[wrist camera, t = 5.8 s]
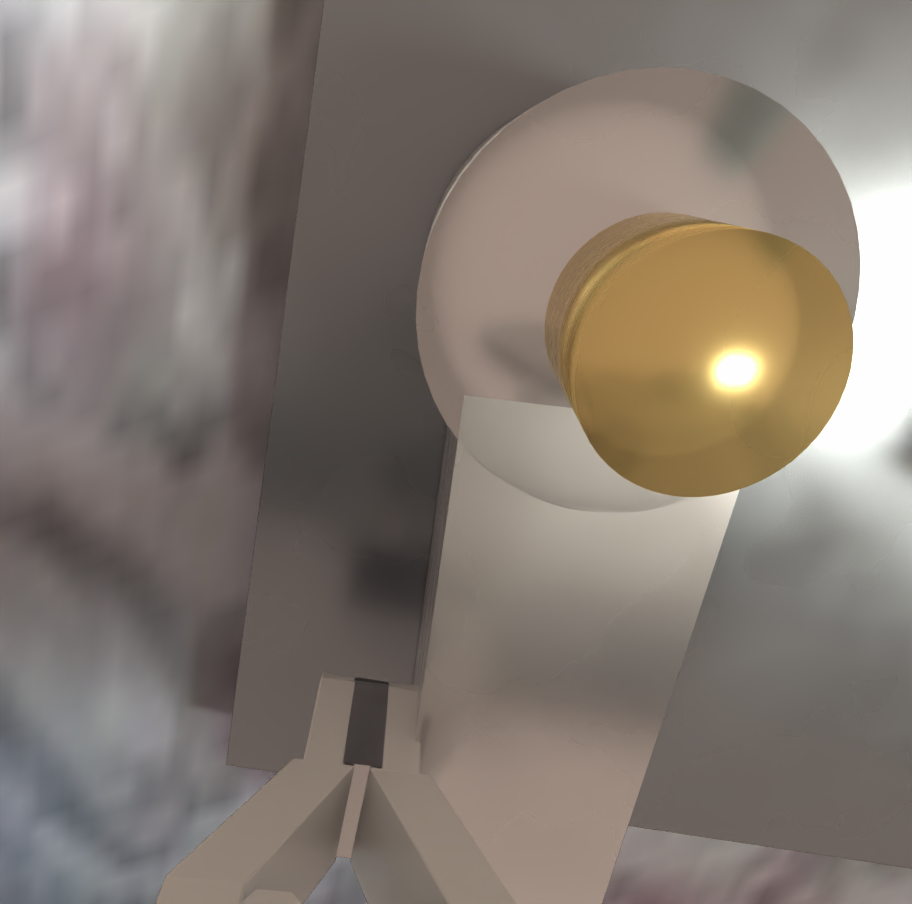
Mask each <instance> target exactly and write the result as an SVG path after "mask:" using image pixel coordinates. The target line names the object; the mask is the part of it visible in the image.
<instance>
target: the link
mask: <svg viewBox="0 0 912 904" xmlns="http://www.w3.org/2000/svg"><path fill="white" fill-rule="evenodd" d="M657 212H668V213H679V214H685V215H690V216H695V217H699V218H704V219H708V220H713V221H717V222H722V223H726V224H731V225H735V226H740V227H744V228H749V229H753V230H758V231H762V232H767V233H770V234H773V235H776V236H779V237H782V238H785V239H788V240H790V241H791V242H793V243H795V244H797V245H799V246H801V247H803V248H804V249H806V250H807V251H808V252H810V253H811V254H812V255H814V256H815V257H816V258H817V259H818V260H819V261H820V262H821V263H822V264H823V265H824V266H825V267H826V268H827V269H828V270H829V271H830V273H831V274H832V275H833V277H834V278H835V280H836V281H837V283H838V284H839V286H840V288H841V290H842V292H843V294H844V296H845V299H846V301H847V304H848V308H849V311H850V314H851V319H852V325H853V322H854V318H855V313H856V307H857V301H858V295H859V289H860V264H861V258H860V248H859V237H858V229H857V225H856V221H855V216H854V212H853V208H852V204H851V201H850V198H849V196H848V193H847V191H846V188H845V186H844V183H843V181H842V178H841V176H840V174H839V172H838V170H837V169H836V167H835V165H834V164H833V162H832V160H831V159H830V157H829V155H828V153H827V152H826V150H825V148H824V147H823V146H822V145H821V144H820V142H819V141H818V140H817V139H816V138H815V136H814V135H813V134H812V133H811V132H810V130H809V129H808V128H807V127H806V126H805V125H804V124H803V123H802V122H801V121H800V120H798V119H797V118H796V117H795V116H794V115H793V114H792V113H790V112H789V111H788V110H787V109H786V108H785V107H783V106H782V105H781V104H779V103H778V102H776V101H774V100H773V99H771V98H769V97H768V96H766V95H764V94H763V93H761V92H760V91H758V90H756V89H754V88H752V87H749V86H747V85H745V84H742V83H740V82H737V81H735V80H732V79H730V78H727V77H724V76H720V75H715V74H711V73H707V72H702V71H698V70H691V69H678V68H664V67H661V68H648V69H635V70H627V71H622V72H618V73H613V74H609V75H605V76H600V77H596V78H593V79H591V80H588V81H585V82H583V83H580V84H578V85H575V86H572V87H570V88H567V89H564V90H563V91H561V92H559V93H557V94H555V95H553V96H552V97H550V98H548V99H546V100H544V101H542V102H541V103H539V104H537V105H535V106H533V107H532V108H530V109H529V110H527V111H525V112H524V113H522V114H521V115H519V116H518V117H516V118H514V119H513V120H511V121H510V122H508V123H507V124H505V125H504V126H503V127H501V128H500V129H498V130H497V131H496V132H494V133H493V134H492V135H490V136H489V137H488V138H487V139H486V140H485V141H484V142H483V143H482V144H481V145H480V146H478V147H477V148H476V149H475V150H474V151H473V152H472V153H471V154H470V156H469V157H468V158H467V159H466V161H465V162H464V163H463V164H462V166H461V167H460V168H459V169H458V171H457V172H456V174H455V175H454V177H453V179H452V180H451V182H450V184H449V185H448V187H447V188H446V190H445V192H444V194H443V196H442V199H441V201H440V203H439V205H438V208H437V210H436V212H435V215H434V219H433V222H432V225H431V228H430V232H429V235H428V240H427V244H426V248H425V252H424V256H423V260H422V265H421V271H420V277H419V283H418V289H417V305H416V328H417V339H418V349H419V354H420V358H421V362H422V367H423V371H424V375H425V378H426V381H427V384H428V386H429V389H430V392H431V394H432V397H433V399H434V402H435V404H436V405H437V407H438V409H439V411H440V413H441V415H442V417H443V418H444V420H445V422H446V424H447V430H446V437H445V445H444V452H443V460H442V467H441V475H440V483H439V490H438V498H437V505H436V513H435V520H434V528H433V536H432V543H431V551H430V558H429V566H428V573H427V581H426V588H425V596H424V604H423V611H422V619H421V626H420V634H419V641H418V649H417V656H416V664H415V672H414V679H413V685H418V705H417V724H416V741H417V742H420V744H421V761H420V774H426V775H430V776H431V777H432V779H433V780H434V782H435V783H436V785H437V786H438V788H439V789H440V791H441V792H442V794H443V795H444V797H445V798H446V800H447V801H448V803H449V804H450V806H451V807H452V809H453V810H454V812H455V813H456V815H457V816H458V818H459V819H460V820H461V822H462V823H463V825H464V826H465V828H466V829H467V831H468V832H469V834H470V835H471V837H472V838H473V840H474V841H475V843H476V844H477V846H478V847H479V849H480V850H481V852H482V853H483V855H484V856H485V858H486V859H487V861H488V862H489V864H490V865H491V867H492V868H493V870H494V871H495V873H496V874H497V876H498V877H499V879H500V880H501V882H502V883H503V885H504V886H505V888H506V889H507V891H508V892H509V894H510V895H511V897H512V898H513V900H514V901H515V903H516V904H602V902H603V899H604V896H605V893H606V890H607V887H608V884H609V881H610V878H611V875H612V872H613V869H614V866H615V863H616V860H617V857H618V854H619V851H620V848H621V845H622V842H623V839H624V836H625V833H626V830H627V827H628V824H629V821H630V818H631V815H632V812H633V809H634V806H635V803H636V800H637V797H638V794H639V791H640V788H641V785H642V782H643V779H644V776H645V773H646V770H647V767H648V763H649V760H650V757H651V754H652V751H653V748H654V745H655V742H656V739H657V736H658V733H659V730H660V727H661V724H662V721H663V718H664V715H665V712H666V709H667V706H668V703H669V700H670V697H671V694H672V691H673V688H674V685H675V682H676V679H677V676H678V673H679V670H680V667H681V664H682V661H683V658H684V655H685V652H686V649H687V646H688V643H689V640H690V637H691V634H692V631H693V628H694V625H695V622H696V619H697V616H698V613H699V610H700V607H701V604H702V601H703V598H704V595H705V592H706V589H707V586H708V583H709V580H710V577H711V574H712V571H713V568H714V565H715V562H716V559H717V556H718V553H719V550H720V547H721V544H722V541H723V538H724V535H725V532H726V529H727V526H728V523H729V520H730V517H731V514H732V511H733V508H734V505H735V502H736V499H737V496H738V493H739V490H740V489H739V490H736V491H733V492H729V493H725V494H720V495H715V496H705V497H678V496H671V495H664V494H661V493H657V492H653V491H650V490H647V489H645V488H643V487H640V486H638V485H635V484H634V483H632V482H630V481H628V480H627V479H625V478H623V477H622V476H620V475H619V474H618V473H617V472H615V471H614V470H613V469H612V468H610V467H609V466H608V465H607V464H606V463H605V462H604V460H603V459H602V458H601V457H600V456H599V455H598V454H597V452H596V451H595V449H594V448H593V446H592V445H591V444H590V442H589V440H588V438H587V436H586V434H585V432H584V430H583V428H582V426H581V424H580V422H579V420H578V418H577V417H576V415H575V413H574V411H573V409H572V407H571V405H570V403H569V401H568V399H567V397H566V395H565V393H564V391H563V389H562V387H561V385H560V383H559V381H558V379H557V377H556V375H555V373H554V371H553V369H552V367H551V364H550V361H549V358H548V355H547V349H546V344H545V317H546V311H547V306H548V302H549V299H550V296H551V293H552V290H553V287H554V285H555V283H556V281H557V279H558V277H559V275H560V273H561V272H562V270H563V269H564V267H565V266H566V264H567V263H568V261H569V260H570V259H571V258H572V257H573V255H574V254H575V253H576V252H577V251H578V250H579V249H580V248H581V247H582V246H583V245H584V244H585V243H586V242H587V241H588V240H590V239H591V238H592V237H594V236H595V235H596V234H598V233H599V232H601V231H602V230H604V229H606V228H608V227H609V226H611V225H613V224H615V223H617V222H620V221H622V220H625V219H627V218H630V217H634V216H638V215H642V214H648V213H657Z"/></svg>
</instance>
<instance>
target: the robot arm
mask: <svg viewBox="0 0 912 904" xmlns="http://www.w3.org/2000/svg"><path fill="white" fill-rule="evenodd" d="M417 705H418V685H411V684H403V683H395V682H384V681H378V680H372V679H366V678H360V677H356V678H354V677H348V676H342V675H336V674H330V673H325V672H323V674H322V677H321V679H320V684H319V688H318V693H317V698H316V703H315V707H314V712H313V717H312V722H311V726H310V731H309V736H308V740H307V745H306V750H305V755H304V759H292V760H291V761H290V762H289V763H288V764H287V765H286V766H285V767H284V768H283V769H281V770H280V771H279V772H278V773H277V774H276V775H275V776H274V777H273V778H272V779H271V780H269V781H268V782H267V783H266V784H265V785H264V786H263V787H262V788H261V789H260V790H259V791H258V792H256V793H255V794H254V795H253V796H252V797H251V798H250V799H249V800H248V801H247V802H246V803H244V804H243V805H242V806H241V807H240V808H239V809H238V810H237V811H236V812H235V813H234V814H233V815H231V816H230V817H229V818H228V819H227V820H226V821H225V822H224V823H223V824H222V825H221V826H219V827H218V828H217V829H216V830H215V831H214V832H213V833H212V834H211V835H210V836H209V837H208V838H206V839H205V840H204V841H203V842H202V843H201V844H200V845H199V846H198V847H197V848H196V849H194V850H193V851H192V852H191V853H190V854H189V855H188V856H187V857H186V858H185V859H184V860H183V861H181V862H180V863H179V864H178V865H177V866H176V867H175V868H174V869H173V870H172V871H171V872H169V873H168V874H167V875H166V876H165V879H164V882H163V884H162V887H161V890H160V892H159V895H158V898H157V900H156V903H155V904H303V903H304V902H305V901H306V899H307V898H308V897H309V895H310V894H311V893H312V891H313V890H314V889H315V887H316V886H317V885H318V883H319V882H320V881H321V879H322V878H323V877H324V875H325V874H326V872H327V871H328V870H329V868H330V867H331V866H332V864H333V863H334V862H335V860H336V857H346V858H351V860H350V862H351V864H352V867H353V869H354V871H355V874H356V876H357V879H358V881H359V884H360V886H361V888H362V891H363V893H364V896H365V898H366V901H367V903H368V904H516V903H515V901H514V900H513V898H512V897H511V895H510V894H509V892H508V891H507V889H506V888H505V886H504V885H503V883H502V882H501V880H500V879H499V877H498V876H497V874H496V873H495V871H494V870H493V868H492V867H491V865H490V864H489V862H488V861H487V859H486V858H485V856H484V855H483V853H482V852H481V850H480V849H479V847H478V846H477V844H476V843H475V841H474V840H473V838H472V837H471V835H470V834H469V832H468V831H467V829H466V828H465V826H464V825H463V823H462V822H461V820H460V819H459V818H458V816H457V815H456V813H455V812H454V810H453V809H452V807H451V806H450V804H449V803H448V801H447V800H446V798H445V797H444V795H443V794H442V792H441V791H440V789H439V788H438V786H437V785H436V783H435V782H434V780H433V779H432V777H431V776H430V775H426V774H420V761H421V744H420V742H417V741H416V724H417Z"/></svg>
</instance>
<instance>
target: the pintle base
mask: <svg viewBox="0 0 912 904" xmlns="http://www.w3.org/2000/svg"><path fill="white" fill-rule="evenodd" d="M661 67H664V68H678V69H691V70H698V71H702V72H707V73H711V74H715V75H720V76H724V77H727V78H730V79H732V80H735V81H737V82H740V83H742V84H745V85H747V86H749V87H752V88H754V89H756V90H758V91H760V92H761V93H763V94H764V95H766V96H768V97H769V98H771V99H773V100H774V101H776V102H778V103H779V104H781V105H782V106H783V107H785V108H786V109H787V110H788V111H789V112H790V113H792V114H793V115H794V116H795V117H796V118H797V119H798V120H800V121H801V122H802V123H803V124H804V125H805V126H806V127H807V128H808V129H809V130H810V132H811V133H812V134H813V135H814V136H815V138H816V139H817V140H818V141H819V142H820V144H821V145H822V146H823V147H824V148H825V150H826V152H827V153H828V155H829V157H830V159H831V160H832V162H833V164H834V165H835V167H836V169H837V170H838V172H839V174H840V176H841V178H842V181H843V183H844V186H845V188H846V191H847V193H848V196H849V198H850V201H851V204H852V208H853V212H854V216H855V221H856V225H857V229H858V237H859V248H860V258H861V264H860V289H859V295H858V301H857V307H856V313H855V318H854V322H853V325H852V319H851V314H850V311H849V308H848V304H847V301H846V299H845V296H844V294H843V292H842V290H841V288H840V286H839V284H838V283H837V281H836V280H835V278H834V277H833V275H832V274H831V273H830V271H829V270H828V269H827V268H826V267H825V266H824V265H823V264H822V263H821V262H820V261H819V260H818V259H817V258H816V257H815V256H814V255H812V254H811V253H810V252H808V251H807V250H806V249H804V248H803V247H801V246H799V245H797V244H795V243H793V242H791V241H790V240H788V239H785V238H782V237H779V236H776V235H773V234H770V233H767V232H762V231H758V230H753V229H749V228H744V227H740V226H735V225H731V224H726V223H722V222H717V221H713V220H708V219H704V218H699V217H695V216H690V215H685V214H679V213H668V212H657V213H648V214H642V215H638V216H634V217H630V218H627V219H625V220H622V221H620V222H617V223H615V224H613V225H611V226H609V227H608V228H606V229H604V230H602V231H601V232H599V233H598V234H596V235H595V236H594V237H592V238H591V239H590V240H588V241H587V242H586V243H585V244H584V245H583V246H582V247H581V248H580V249H579V250H578V251H577V252H576V253H575V254H574V255H573V257H572V258H571V259H570V260H569V261H568V263H567V264H566V266H565V267H564V269H563V270H562V272H561V273H560V275H559V277H558V279H557V281H556V283H555V285H554V287H553V290H552V293H551V296H550V299H549V302H548V306H547V311H546V317H545V344H546V349H547V355H548V358H549V361H550V364H551V367H552V369H553V371H554V373H555V375H556V377H557V379H558V381H559V383H560V385H561V387H562V389H563V391H564V393H565V395H566V397H567V399H568V401H569V403H570V405H571V407H572V409H573V411H574V413H575V415H576V417H577V418H578V420H579V422H580V424H581V426H582V428H583V430H584V432H585V434H586V436H587V438H588V440H589V442H590V444H591V445H592V446H593V448H594V449H595V451H596V452H597V454H598V455H599V456H600V457H601V458H602V459H603V460H604V462H605V463H606V464H607V465H608V466H609V467H610V468H612V469H613V470H614V471H615V472H617V473H618V474H619V475H620V476H622V477H623V478H625V479H627V480H628V481H630V482H632V483H634V484H635V485H638V486H640V487H643V488H645V489H647V490H650V491H653V492H657V493H661V494H664V495H671V496H678V497H705V496H715V495H720V494H725V493H729V492H733V491H736V490H739V489H740V490H739V493H738V496H737V499H736V502H735V505H734V508H733V511H732V514H731V517H730V520H729V523H728V526H727V529H726V532H725V535H724V538H723V541H722V544H721V547H720V550H719V553H718V556H717V559H716V562H715V565H714V568H713V571H712V574H711V577H710V580H709V583H708V586H707V589H706V592H705V595H704V598H703V601H702V604H701V607H700V610H699V613H698V616H697V619H696V622H695V625H694V628H693V631H692V634H691V637H690V640H689V643H688V646H687V649H686V652H685V655H684V658H683V661H682V664H681V667H680V670H679V673H678V676H677V679H676V682H675V685H674V688H673V691H672V694H671V697H670V700H669V703H668V706H667V709H666V712H665V715H664V718H663V721H662V724H661V727H660V730H659V733H658V736H657V739H656V742H655V745H654V748H653V751H652V754H651V757H650V760H649V763H648V767H647V770H646V773H645V776H644V779H643V782H642V785H641V788H640V791H639V794H638V797H637V800H636V803H635V806H634V809H633V812H632V815H631V818H630V821H629V824H628V826H634V827H641V828H648V829H654V830H661V831H667V832H674V833H680V834H687V835H694V836H700V837H707V838H713V839H720V840H727V841H733V842H740V843H746V844H753V845H760V846H766V847H773V848H779V849H786V850H792V851H799V852H806V853H812V854H819V855H825V856H832V857H839V858H845V859H852V860H858V861H865V862H872V863H878V864H885V865H891V866H898V867H904V868H911V869H912V0H324V6H323V14H322V21H321V29H320V37H319V45H318V53H317V60H316V68H315V76H314V84H313V92H312V99H311V107H310V115H309V123H308V131H307V138H306V146H305V154H304V162H303V170H302V177H301V185H300V193H299V201H298V209H297V216H296V224H295V232H294V240H293V247H292V255H291V263H290V271H289V279H288V286H287V294H286V302H285V310H284V318H283V325H282V333H281V341H280V349H279V357H278V364H277V372H276V380H275V388H274V396H273V403H272V411H271V419H270V427H269V435H268V442H267V450H266V458H265V466H264V474H263V481H262V489H261V497H260V505H259V513H258V520H257V528H256V536H255V544H254V552H253V559H252V567H251V575H250V583H249V591H248V598H247V606H246V614H245V622H244V630H243V637H242V645H241V653H240V661H239V669H238V676H237V684H236V692H235V700H234V708H233V715H232V723H231V731H230V739H229V746H228V754H227V762H226V765H232V766H239V767H246V768H252V769H259V770H265V771H272V772H279V771H280V770H281V769H283V768H284V767H285V766H286V765H287V764H288V763H289V762H290V761H291V760H292V759H304V755H305V750H306V745H307V740H308V736H309V731H310V726H311V722H312V717H313V712H314V707H315V703H316V698H317V693H318V688H319V684H320V679H321V677H322V674H323V672H325V673H330V674H336V675H342V676H348V677H354V678H356V677H360V678H366V679H372V680H378V681H384V682H395V683H403V684H411V685H413V679H414V672H415V664H416V656H417V649H418V641H419V634H420V626H421V619H422V611H423V604H424V596H425V588H426V581H427V573H428V566H429V558H430V551H431V543H432V536H433V528H434V520H435V513H436V505H437V498H438V490H439V483H440V475H441V467H442V460H443V452H444V445H445V437H446V430H447V424H446V422H445V420H444V418H443V417H442V415H441V413H440V411H439V409H438V407H437V405H436V404H435V402H434V399H433V397H432V394H431V392H430V389H429V386H428V384H427V381H426V378H425V375H424V371H423V367H422V362H421V358H420V354H419V349H418V339H417V328H416V305H417V289H418V283H419V277H420V271H421V265H422V260H423V256H424V252H425V248H426V244H427V240H428V235H429V232H430V228H431V225H432V222H433V219H434V215H435V212H436V210H437V208H438V205H439V203H440V201H441V199H442V196H443V194H444V192H445V190H446V188H447V187H448V185H449V184H450V182H451V180H452V179H453V177H454V175H455V174H456V172H457V171H458V169H459V168H460V167H461V166H462V164H463V163H464V162H465V161H466V159H467V158H468V157H469V156H470V154H471V153H472V152H473V151H474V150H475V149H476V148H477V147H478V146H480V145H481V144H482V143H483V142H484V141H485V140H486V139H487V138H488V137H489V136H490V135H492V134H493V133H494V132H496V131H497V130H498V129H500V128H501V127H503V126H504V125H505V124H507V123H508V122H510V121H511V120H513V119H514V118H516V117H518V116H519V115H521V114H522V113H524V112H525V111H527V110H529V109H530V108H532V107H533V106H535V105H537V104H539V103H541V102H542V101H544V100H546V99H548V98H550V97H552V96H553V95H555V94H557V93H559V92H561V91H563V90H564V89H567V88H570V87H572V86H575V85H578V84H580V83H583V82H585V81H588V80H591V79H593V78H596V77H600V76H605V75H609V74H613V73H618V72H622V71H627V70H635V69H648V68H661Z"/></svg>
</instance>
